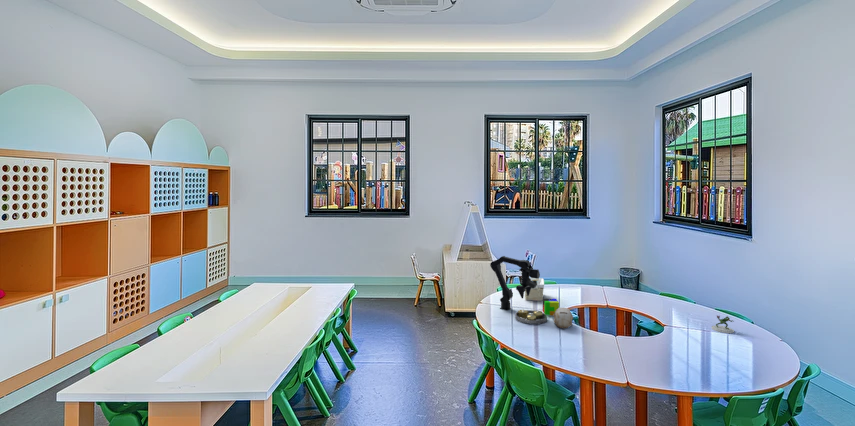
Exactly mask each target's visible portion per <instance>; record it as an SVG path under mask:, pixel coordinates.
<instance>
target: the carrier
mask: <svg viewBox="0 0 855 426" xmlns="http://www.w3.org/2000/svg"><path fill="white" fill-rule="evenodd" d="M521 310H522V312H524V310H525V309H521ZM526 310H527V311H528V312H529V313H528V315H527V317H519V316H518V311H517V312H515V313H514V316H515V317H514V318H515V321H517V322H519V323H521V324H525V325H542V324H545V323H546V322H547V320H548V317H547V316H548V315H546V314H544V312H543V310H542V311H541V310H532V309H531V310H529V309H526Z"/></svg>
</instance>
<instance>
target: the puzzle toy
mask: <svg viewBox="0 0 855 426" xmlns="http://www.w3.org/2000/svg"><path fill="white" fill-rule="evenodd" d="M558 308H560V302H559V301H558V299H557V298H543V299H542V313H544V314H546V316H553V315H554V313H555V311H556V310H557V309H558Z"/></svg>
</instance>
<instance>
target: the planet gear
mask: <svg viewBox="0 0 855 426" xmlns="http://www.w3.org/2000/svg"><path fill="white" fill-rule="evenodd" d="M522 310H524V312H522ZM527 310H528V309H519V310H517V312H518V316H519V317H527V315H528V313H529V312H528V311H527Z"/></svg>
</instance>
